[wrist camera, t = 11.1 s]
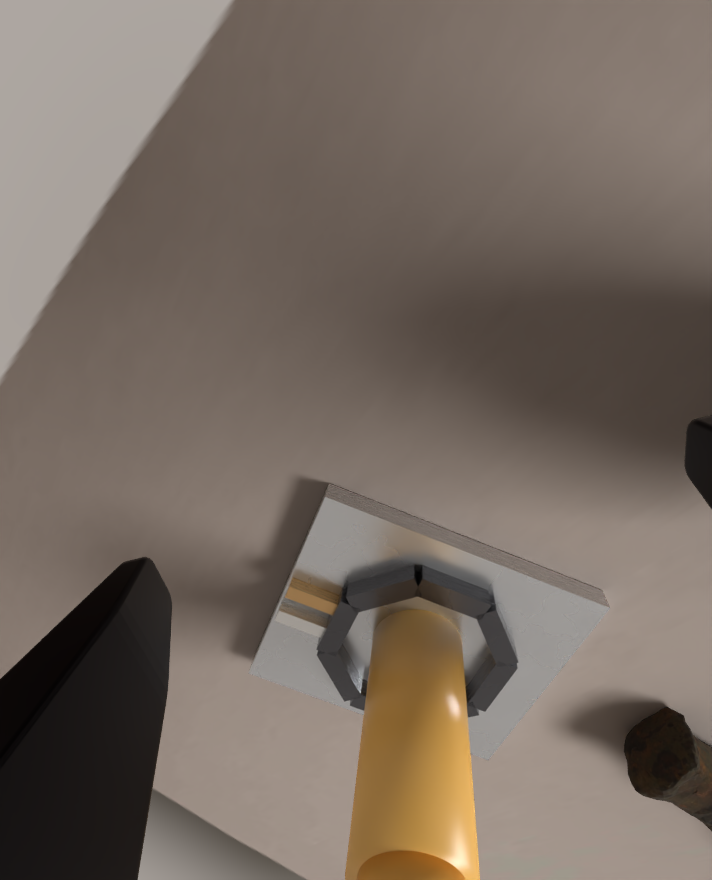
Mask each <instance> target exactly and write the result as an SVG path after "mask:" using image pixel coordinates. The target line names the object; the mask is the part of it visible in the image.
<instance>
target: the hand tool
mask: <svg viewBox="0 0 712 880" xmlns="http://www.w3.org/2000/svg"><path fill="white" fill-rule="evenodd" d="M624 752H625V756H626V759H627V762H628V775H629V778H630V781H631V783H632V785H633V787H634V788H635V790H636V791H637V792H638V793H640V794H641V795H643V796H646V797H649V798H652V799H656V800H662V801H667V802H671V803H673V804H675V805H676V806H678V807H679V808H680V809H682V810H684V811H685V812H687V813H689V814H690V815H692V816H694V817H696V818H697V819H699V820H700V821H702V822H703V823H704V824H705V825H706V826H707V827H708V828H709V829H710V830H711V831H712V748H711V747H710V746H708V745H706V744H705V743H703V742H702V741H700V740H699V739H697V738H696V737H695V736H694V735H693V734H692V732H691V730H690V728H689V726H688V725H687V724H686V722H685V718H684V715H682V714H680V713H678V712H676V711H674V710H672V709H670V708H664V709H662V710H660V711H659V712H658V713H656V714H654V715H653V716H650V717H648V718H646V719H644V720H643V721H642V722H640V723H639V724H638V725H636V726H635V727H634V728H633V730H632V731H631V732H630V733H629V734H628V735H627V738H626V741H625V744H624Z"/></svg>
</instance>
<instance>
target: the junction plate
mask: <svg viewBox="0 0 712 880" xmlns="http://www.w3.org/2000/svg"><path fill="white" fill-rule="evenodd" d="M411 609H419V610H426V611H430V612H433V613H436V614H439V615H441V616H443V617H444V618H446V619H447V620H449V621H450V622H451V623H452V624H453V625H454V626H455V627H456V629H457V630H458V632H459V634H460V636H461V639H462V648H463V661H464V675H465V688H466V701H467V714H468V728H469V741H470V754H472V755H475V756H478V757H480V758H483V759H486V760H489V759H490V757H491V756H492V755H493V754H494V752H495V751H496V750H497V749H498V747H499V746H500V745H501V744H502V742H503V741H504V740H505V739H506V737H507V736H508V735H509V734H510V732H511V731H512V730H513V729H514V727H515V726H516V725H517V724H518V722H519V721H520V720H521V719H522V717H523V716H524V715H525V714H526V712H527V711H528V710H529V709H530V707H531V706H532V705H533V704H534V703H535V701H536V700H537V699H538V698H539V696H540V695H541V694H542V693H543V691H544V690H545V689H546V688H547V686H548V685H549V684H550V683H551V681H552V680H553V679H554V678H555V676H556V675H557V674H558V673H559V671H560V670H561V669H562V668H563V666H564V665H565V664H566V663H567V661H568V660H569V659H570V658H571V656H572V655H573V654H574V653H575V651H576V650H577V649H578V648H579V646H580V645H581V644H582V643H583V641H584V640H585V639H586V638H587V636H588V635H589V634H590V633H591V631H592V630H593V629H594V628H595V626H596V625H597V624H598V623H599V621H600V620H601V619H602V618H603V616H604V615H605V614H606V613H607V611H608V610H609V609H610V607H609V604H608V602H607V600H606V597H605V595H604V593H603V591H602V590H600V589H597V588H595V587H592V586H589V585H587V584H584V583H582V582H579V581H577V580H574V579H572V578H569V577H567V576H564V575H561V574H559V573H556V572H554V571H551V570H549V569H546V568H544V567H541V566H539V565H536V564H533V563H531V562H528V561H526V560H523V559H521V558H518V557H516V556H513V555H511V554H508V553H505V552H503V551H500V550H498V549H495V548H493V547H490V546H488V545H485V544H482V543H480V542H477V541H475V540H472V539H470V538H467V537H465V536H462V535H460V534H457V533H454V532H452V531H449V530H447V529H444V528H442V527H439V526H437V525H434V524H432V523H429V522H426V521H424V520H421V519H419V518H416V517H414V516H411V515H409V514H406V513H404V512H401V511H398V510H396V509H393V508H391V507H388V506H386V505H383V504H381V503H378V502H376V501H373V500H370V499H368V498H365V497H363V496H360V495H358V494H355V493H353V492H350V491H348V490H345V489H342V488H340V487H337V486H335V485H332V484H330V483H329V485H328V487H327V489H326V491H325V494H324V496H323V498H322V501H321V503H320V505H319V508H318V510H317V512H316V515H315V517H314V519H313V522H312V524H311V526H310V528H309V531H308V533H307V535H306V538H305V540H304V542H303V545H302V547H301V549H300V552H299V554H298V556H297V559H296V561H295V563H294V565H293V568H292V570H291V572H290V575H289V577H288V579H287V582H286V584H285V586H284V589H283V591H282V593H281V595H280V598H279V600H278V602H277V605H276V607H275V609H274V612H273V614H272V616H271V619H270V621H269V623H268V626H267V628H266V630H265V632H264V635H263V637H262V639H261V642H260V644H259V646H258V649H257V651H256V653H255V656H254V658H253V661H252V664H251V667H250V670H249V674H252V675H254V676H257V677H260V678H263V679H265V680H268V681H271V682H274V683H276V684H279V685H282V686H285V687H287V688H290V689H293V690H296V691H299V692H301V693H304V694H307V695H310V696H312V697H315V698H318V699H321V700H323V701H326V702H329V703H332V704H334V705H337V706H340V707H343V708H345V709H348V710H351V711H354V712H356V713H359V714H362V715H364V709H365V700H366V692H367V683H368V675H369V666H370V658H371V649H372V640H373V634H374V631H375V629H376V627H377V626H378V624H379V623H380V622H381V621H382V620H383V619H385V618H386V617H388V616H389V615H391V614H393V613H396V612H399V611H403V610H411Z"/></svg>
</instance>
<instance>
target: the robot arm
mask: <svg viewBox="0 0 712 880" xmlns="http://www.w3.org/2000/svg"><path fill="white" fill-rule="evenodd" d="M685 469H686V473H687V475H688V477H689V478H690V480H691V481H692V483H693V484H694V485H695V487H696V488H697V490H698V491H699V492H700V494H701V495H702V496H703V498H704V499H705V501H706V502H707V503H708V505H709V506H710V507H711V509H712V415H710V416H706V417H702V418H698V419H694V420H692V421H691V422H690V423H689V425H688V427H687V433H686V448H685ZM171 616H172V601H171V596H170V593H169V591H168V589H167V587H166V585H165V583H164V581H163V579H162V578H161V576H160V574H159V572H158V570H157V568H156V566H155V564H154V563H153V561H152V560H151V559H150V558H147V557H142V558H138V559H134V560H130V561H126V562H124V563H122V564H121V565H120V566H119V567H117V568H116V569H115V570H114V571H113V572H112V573H111V574H110V575H109V576H108V577H107V578H106V579H105V580H104V581H103V582H102V583H101V584H100V585H99V586H98V587H96V588H95V589H94V590H93V591H92V592H91V593H90V594H89V595H88V596H87V597H86V598H85V599H84V600H83V601H82V602H81V603H80V604H79V605H78V606H77V607H75V608H74V609H73V610H72V611H71V612H70V613H69V614H68V615H67V616H66V617H65V618H64V619H63V620H62V621H61V622H60V623H59V624H58V625H57V626H55V627H54V628H53V629H52V630H51V631H50V632H49V633H48V634H47V635H46V636H45V637H44V638H43V639H42V640H41V641H40V642H39V643H38V644H37V645H36V646H34V647H33V648H32V649H31V650H30V651H29V652H28V653H27V654H26V655H25V656H24V657H23V658H22V659H21V660H20V661H19V662H18V663H17V664H16V665H15V666H13V667H12V668H11V669H10V670H9V671H8V672H7V673H6V674H5V675H4V676H3V677H2V678H1V679H0V880H138V873H139V867H140V860H141V854H142V849H143V843H144V836H145V830H146V824H147V818H148V812H149V805H150V799H151V792H152V787H153V781H154V775H155V768H156V762H157V756H158V750H159V744H160V738H161V731H162V725H163V719H164V713H165V707H166V699H167V692H168V680H169V659H170V637H171Z"/></svg>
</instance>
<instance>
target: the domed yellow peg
mask: <svg viewBox="0 0 712 880" xmlns="http://www.w3.org/2000/svg"><path fill="white" fill-rule="evenodd" d="M345 879H346V880H480V873H479V860H478V847H477V834H476V820H475V807H474V794H473V781H472V767H471V754H470V741H469V728H468V714H467V701H466V688H465V675H464V661H463V648H462V639H461V636H460V634H459V632H458V630H457V629H456V627H455V626H454V625H453V624H452V623H451V622H450V621H449V620H447V619H446V618H444V617H443V616H441V615H439V614H436V613H433V612H430V611H426V610H419V609H411V610H403V611H399V612H396V613H393V614H391V615H389V616H388V617H386V618H385V619H383V620H382V621H381V622H380V623H379V624H378V626H377V627H376V629H375V631H374V634H373V640H372V649H371V658H370V666H369V675H368V683H367V692H366V700H365V709H364V717H363V726H362V735H361V743H360V752H359V760H358V769H357V777H356V786H355V794H354V803H353V812H352V820H351V829H350V837H349V846H348V854H347V863H346V872H345Z"/></svg>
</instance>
